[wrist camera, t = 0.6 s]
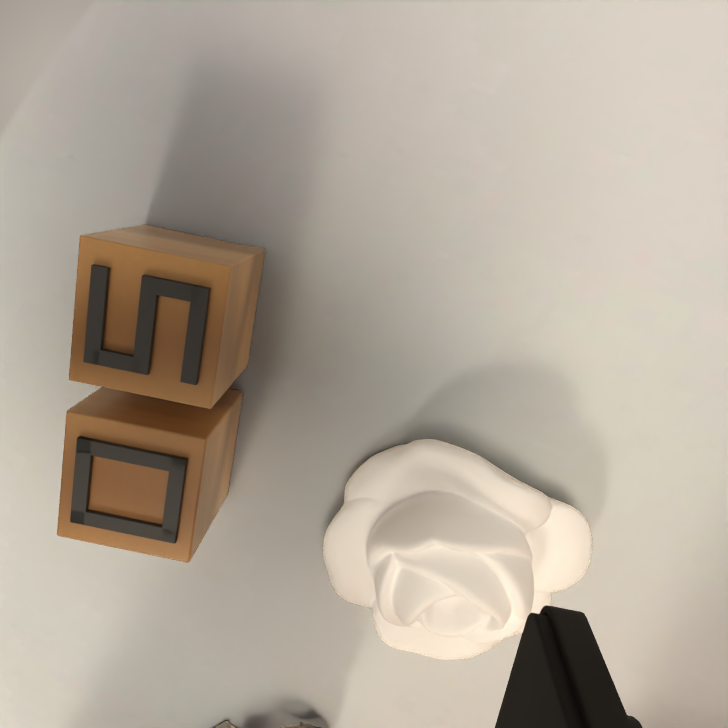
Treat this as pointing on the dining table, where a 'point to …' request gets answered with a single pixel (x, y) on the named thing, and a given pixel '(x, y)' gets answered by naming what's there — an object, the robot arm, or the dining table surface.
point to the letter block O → (146, 471)
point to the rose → (450, 549)
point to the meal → (297, 727)
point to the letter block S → (164, 313)
